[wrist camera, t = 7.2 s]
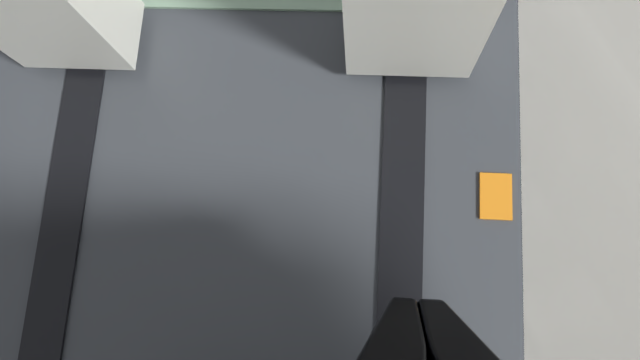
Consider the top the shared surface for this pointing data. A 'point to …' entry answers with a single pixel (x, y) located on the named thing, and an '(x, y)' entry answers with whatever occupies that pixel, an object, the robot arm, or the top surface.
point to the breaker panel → (254, 193)
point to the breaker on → (72, 33)
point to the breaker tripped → (416, 36)
